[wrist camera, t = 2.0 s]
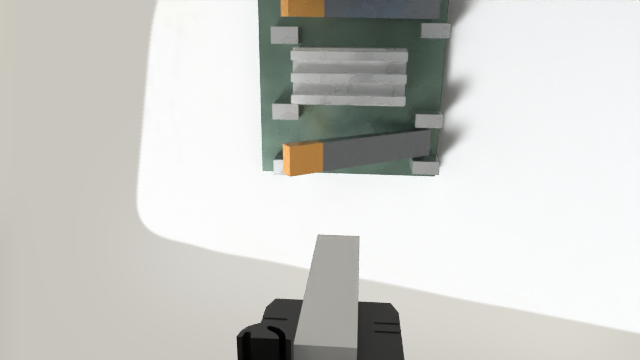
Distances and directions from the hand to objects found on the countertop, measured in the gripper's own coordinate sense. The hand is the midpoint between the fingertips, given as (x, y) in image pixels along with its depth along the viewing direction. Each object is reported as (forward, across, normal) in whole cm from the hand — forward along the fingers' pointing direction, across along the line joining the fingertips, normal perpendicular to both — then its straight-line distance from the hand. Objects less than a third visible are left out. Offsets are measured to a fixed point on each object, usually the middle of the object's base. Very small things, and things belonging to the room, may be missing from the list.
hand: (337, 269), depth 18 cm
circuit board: (+24, 0, +5) cm, 24 cm away
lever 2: (+19, 0, 0) cm, 19 cm away
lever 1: (+19, 0, +10) cm, 21 cm away
